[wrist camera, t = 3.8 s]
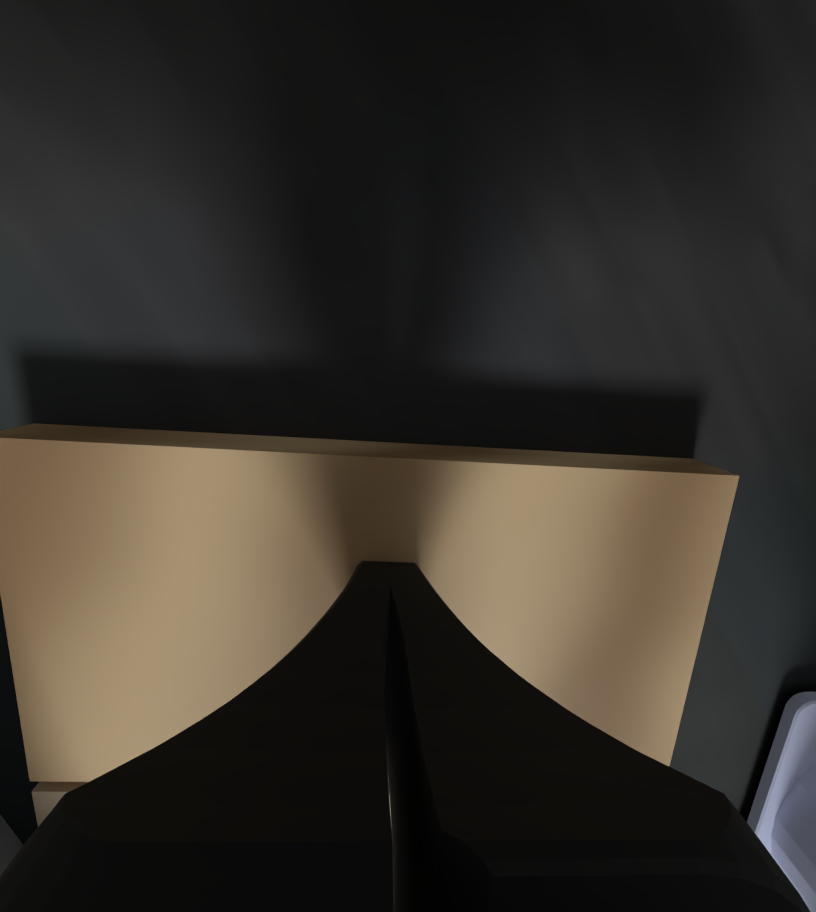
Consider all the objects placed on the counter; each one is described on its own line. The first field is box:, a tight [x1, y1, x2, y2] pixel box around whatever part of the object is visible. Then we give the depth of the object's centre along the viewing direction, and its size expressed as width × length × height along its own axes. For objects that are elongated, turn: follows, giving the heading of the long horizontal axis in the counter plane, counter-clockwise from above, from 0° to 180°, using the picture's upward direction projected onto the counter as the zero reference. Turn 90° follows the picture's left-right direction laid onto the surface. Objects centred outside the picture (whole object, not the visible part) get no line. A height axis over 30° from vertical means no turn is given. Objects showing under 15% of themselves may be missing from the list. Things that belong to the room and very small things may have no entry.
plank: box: [0, 423, 739, 784], centre depth 11 cm, size 15×8×2 cm, turn 86°
